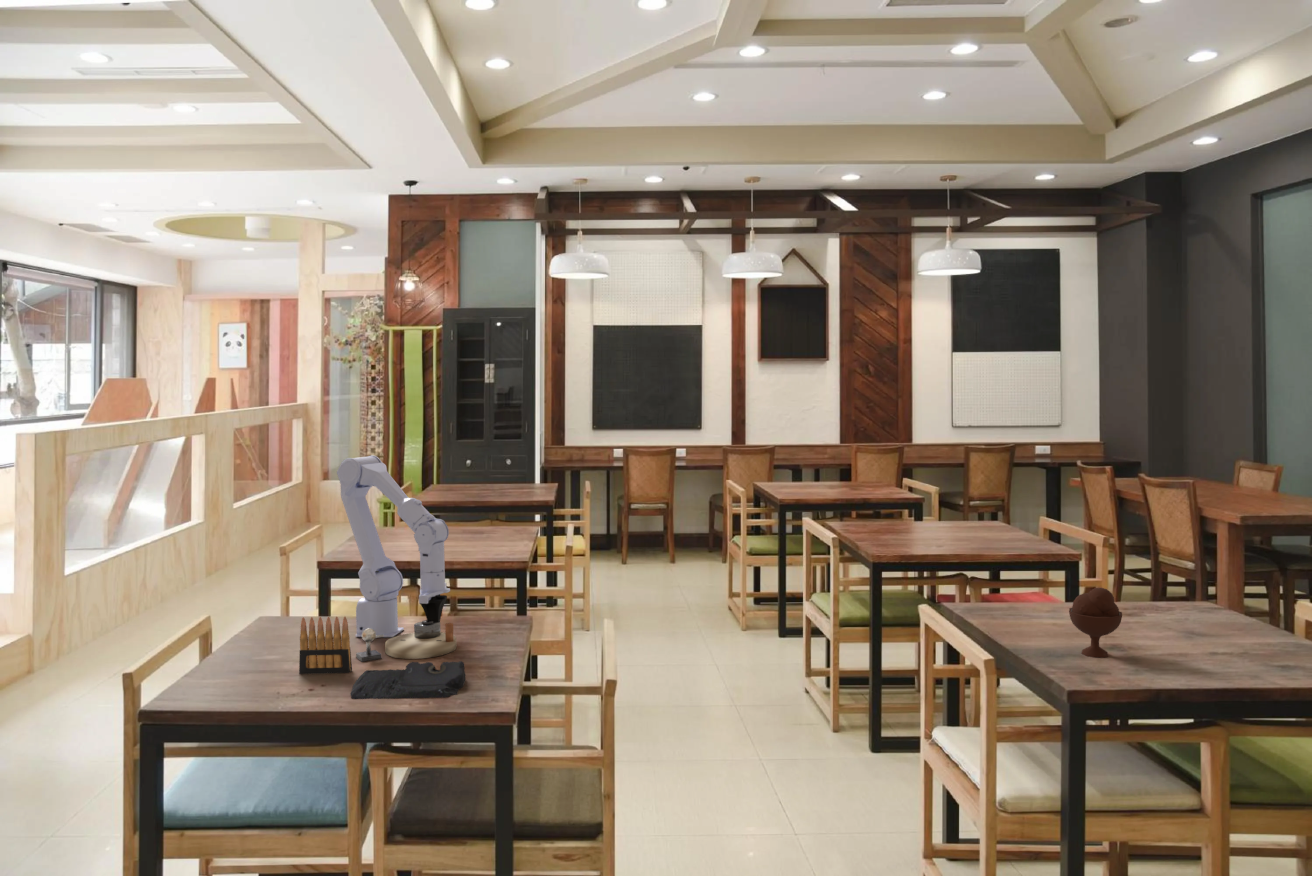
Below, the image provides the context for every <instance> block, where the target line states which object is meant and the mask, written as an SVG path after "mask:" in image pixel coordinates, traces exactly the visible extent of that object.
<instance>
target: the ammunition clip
mask: <svg viewBox="0 0 1312 876" xmlns="http://www.w3.org/2000/svg"><path fill="white" fill-rule="evenodd" d="M348 623H349V622H348V618H347V617H346V616H344V617H343V619H342V626H341V625H340V620H339V618H338V616H335V619H334V623H333V627H332V621H331V618H330V616H327V618H326V621H325V628H324V622H323V618H322V617H321V616H319V617H318V621H317V631H316V625H315V620H314V617H312V616H311V617H310V618H309V624H308V626H307V621H306V619H305V617H303V616H302V618H301V621H300V633H299V634H300V636H299V648H300V649H299V662H298V663H299V666H298V668H299V669H298V671H299V672H298V674H299V675H309V674H312V675H313V674H314V675H315V674H316V675H319V674H322V675H323V674H350V673H351V672H352V671H353V665H352V664H353V663H352V652H351V651H352V650H351V646H350V643H351V641H350V637H351V636H350V632H349V624H348ZM307 627H308V629H307ZM332 628H333V629H332ZM341 628H342V630H341ZM324 629H325V630H324ZM316 632H317V634H316Z"/></svg>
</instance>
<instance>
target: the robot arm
mask: <svg viewBox="0 0 1312 876" xmlns="http://www.w3.org/2000/svg"><path fill="white" fill-rule="evenodd" d="M336 475H337V477H338V480H339V483H340V498H341V501H342V504H343V508H344V510H345V513H346V517H347V518H348V522H349V526H350V528H351V531H352V533H353V537H354V540H355V542H356V546H357V548H358V552H359V555H360V558H361V560H362V565H361V567H360V569H359V571H358V572H357V574H358V575H357V576H358V577H359V591H360V593H361V595H362V596H363V597H361V598H359V599H358V601H357V603H356V607H355V620H356V622H355V623H356V625H355V626H356V627H355V628H356V633H355V638H356V637H357V638H359V637H360V638H362V633H363V631H364V630H365V629H367V628H371V629H373V630H374V631H375V632H376V635H380V634H383V635H384V637H383V638H393V637H396V635H398V634H399V633H401V632H402V631H404V629H405V628H404V627H403V626H402V627H399V624H398V623H399V619H398V617H399V616H398V613H399V612H398V596H399V592H400V591H401V589H402V587H403V585H404V577H403V574H402V572H401V571H399V569H398V568H397V566H396V563H395V561H394V560H392V559H390V558H389V557H387V556H386V554H385V550H384V547H383V545H382V542H381V538H380V536H379V532H378V531H377V528H376V527H377V526H376V525H375V521H374V519H373V516H372V513H371V509H370V507H369V503H368V501H367V495H368V492H369V491H370V489H371V488H373V487H375V488H376V489H378V491H380V492H381V493H382V494H383V495H384V496H385V497H386V498H387V499H388V500H389V501H390V502H391V503H392V504H393V505H394V506H396V508H397V512H396V513H397V515H398V516H399V518H400V519H401V520H402V521H403V522H404V523H405V524H406V526H408V527H409V528H410V530H411V531H413V533H414V534H413V537H414V541H415V543H416V544H417V546H418V551H419V563H420V565H419V567H420V576H419V577H420V589H419V595H418V603H419V605H420V606H421V607H422V610H423V611H424V614H425V618H426V620H432V621H438V622H440V623H441V619H442V618H441V617H442V614H443V608H444V605H445V604H446V602H447V600H448V595H444V594H447V593H449V592H451V588H450V587H449V588H448V587H447V582H446V572H445V570H446V565H445V564H446V563H445V561H446V560H445V541H446V540H448V538H449V534H450V533H449V531H450V529H449V527H448V525H447V523H446V521H445V520H444V519H441V518H436V517H435V516H434V515H433V514H431V513H430V511H428V509H426V507H424V506H423V502H422V500H420V499H417V498H415V497H408V495H407V494H406V493H405V492H404V491H403V489H402V488H401V487H400V485H399V484H398V483H397V482H396V481H395V479H394V478H393V477H392V475H391V474H390V473H389V472H388V468H387V465H386V464H385V463H384V462H383V461H382V460H381V459H380V458H379V457H378V456H377V455H374V454H371V455H368V456H361V457H359V456H358V457H346V458H345V459H343V460H342V461H341V463H340V465H339V466H338V468H337V471H336Z"/></svg>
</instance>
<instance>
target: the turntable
mask: <svg viewBox="0 0 1312 876" xmlns="http://www.w3.org/2000/svg"><path fill="white" fill-rule="evenodd" d="M444 624H445V625H444V626H445V627H444V630H445V632H441V631H440V632H441V635H440V636H439V637H436V638H430V639H419V638H415V637H414V632H410V633H404V634H400V635H397V636H396V635H395V636H394V637H389V638H388V639H387V640H386V641H385V643H384V648H385V649H384V651H385V655H387V656H389V657H391V658H396V659H401V660H402V659H404V660H405V659H406V660H415V659H416V660H418V659H419V660H420V659H430V658H434V657H441V656H444V655H447V654H450V653H452V652H454V651H456V649H457V637H456V635H454V623H453V622H447V623H444Z"/></svg>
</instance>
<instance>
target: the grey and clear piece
mask: <svg viewBox="0 0 1312 876" xmlns="http://www.w3.org/2000/svg"><path fill="white" fill-rule="evenodd" d="M361 638H362V640H363V641H364V642H365V646H366V647H365V648H366V650H365V651H360V652H355V658H357V660H358V661H360V662H361V663H362V662H370V661H376V660H381V659H382V653H381V652H379V651H378V650H376V649H371V647H372V646H371V643H372V642H373V641H374V640H375V639H377V638H385V637H384V635H383V634H380V635H376V632H375V631H374V630H373V629H371V628H367V629H365V630H364V631H363V633H362V637H361Z"/></svg>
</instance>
